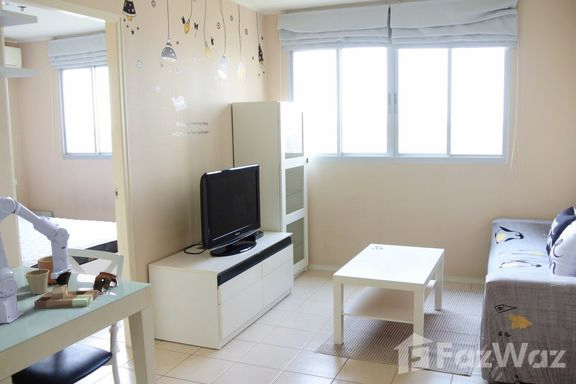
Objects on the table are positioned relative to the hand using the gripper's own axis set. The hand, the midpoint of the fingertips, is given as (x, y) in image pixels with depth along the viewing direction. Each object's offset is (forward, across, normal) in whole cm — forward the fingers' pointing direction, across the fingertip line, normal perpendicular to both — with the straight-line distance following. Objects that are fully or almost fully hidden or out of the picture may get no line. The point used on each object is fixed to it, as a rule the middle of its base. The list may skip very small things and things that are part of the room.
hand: (63, 291), depth 209 cm
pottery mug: (+4, +13, -12) cm, 18 cm away
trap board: (+3, -2, -2) cm, 5 cm away
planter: (+4, +26, +16) cm, 31 cm away
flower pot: (+4, +12, +16) cm, 20 cm away
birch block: (+1, -3, 0) cm, 3 cm away
